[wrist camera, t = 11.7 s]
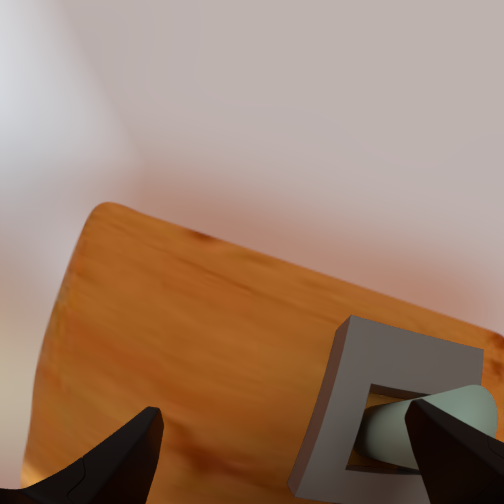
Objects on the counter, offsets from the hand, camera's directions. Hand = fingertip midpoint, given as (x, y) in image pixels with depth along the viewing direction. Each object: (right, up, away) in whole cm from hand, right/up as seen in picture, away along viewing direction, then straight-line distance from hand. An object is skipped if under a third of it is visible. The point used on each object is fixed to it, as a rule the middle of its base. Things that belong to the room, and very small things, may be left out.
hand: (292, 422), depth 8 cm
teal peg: (+9, -9, +10) cm, 17 cm away
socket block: (+10, -9, +11) cm, 17 cm away
